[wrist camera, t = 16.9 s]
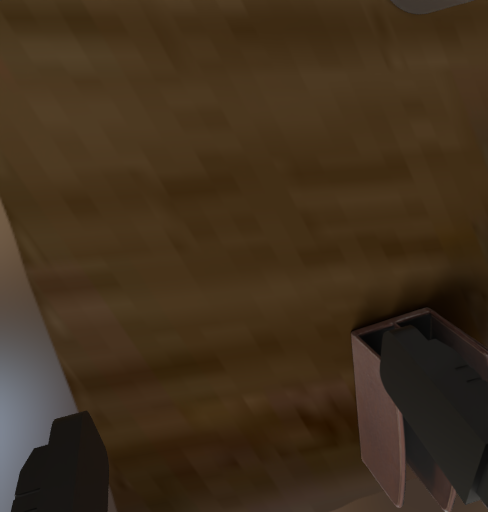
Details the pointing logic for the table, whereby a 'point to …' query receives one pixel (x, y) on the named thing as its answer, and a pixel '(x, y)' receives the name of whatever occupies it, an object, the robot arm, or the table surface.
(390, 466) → the letter holder
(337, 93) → the table surface
